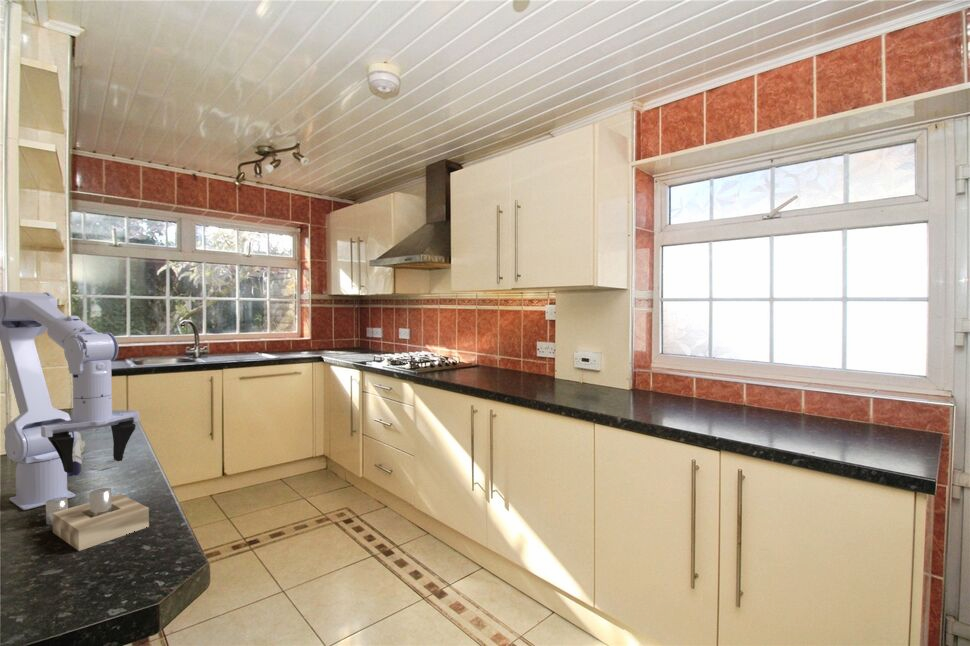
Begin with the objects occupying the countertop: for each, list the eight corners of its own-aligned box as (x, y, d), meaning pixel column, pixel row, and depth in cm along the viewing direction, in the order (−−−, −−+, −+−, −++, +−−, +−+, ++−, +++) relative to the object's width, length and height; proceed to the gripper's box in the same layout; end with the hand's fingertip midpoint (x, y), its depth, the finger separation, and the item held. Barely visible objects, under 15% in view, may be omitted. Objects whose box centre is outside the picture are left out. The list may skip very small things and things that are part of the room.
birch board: (52, 532, 81) (52, 512, 81) (120, 511, 90) (120, 493, 90) (78, 551, 75) (78, 530, 75) (148, 526, 83) (148, 507, 83)
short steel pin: (44, 522, 85) (44, 500, 85) (66, 516, 88) (65, 495, 87) (48, 526, 83) (47, 504, 83) (70, 520, 86) (69, 499, 86)
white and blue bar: (56, 463, 106) (59, 428, 125) (56, 490, 107) (59, 451, 126) (85, 458, 110) (84, 425, 128) (86, 484, 111) (85, 447, 129)
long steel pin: (88, 530, 82) (86, 492, 82) (108, 524, 84) (107, 486, 84) (93, 535, 80) (92, 495, 80) (114, 528, 83) (113, 490, 83)
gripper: (50, 404, 80) (51, 481, 80) (145, 392, 92) (146, 458, 93) (36, 400, 83) (38, 474, 84) (130, 389, 96) (131, 453, 96)
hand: (94, 465), depth 88 cm, fingers open, 7 cm apart
